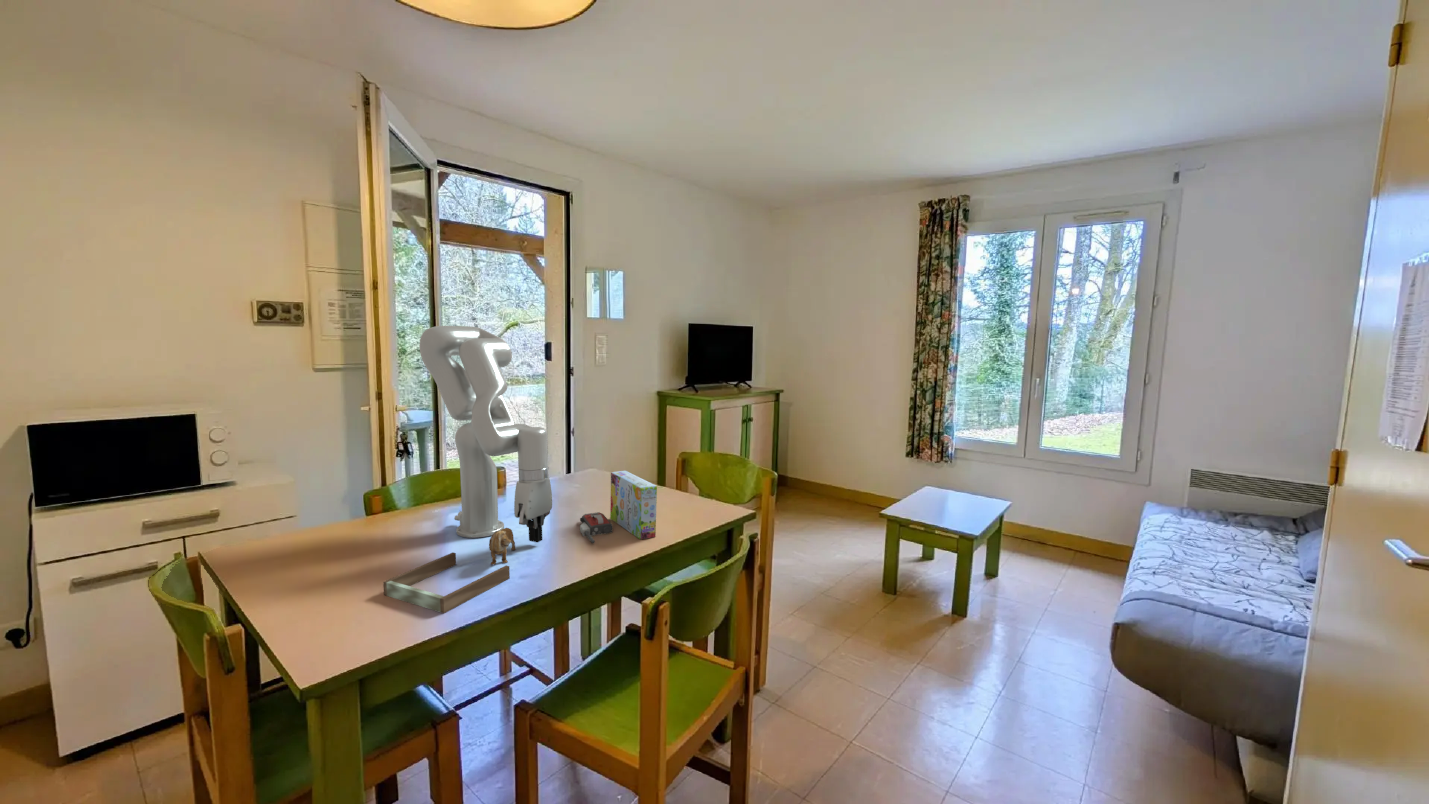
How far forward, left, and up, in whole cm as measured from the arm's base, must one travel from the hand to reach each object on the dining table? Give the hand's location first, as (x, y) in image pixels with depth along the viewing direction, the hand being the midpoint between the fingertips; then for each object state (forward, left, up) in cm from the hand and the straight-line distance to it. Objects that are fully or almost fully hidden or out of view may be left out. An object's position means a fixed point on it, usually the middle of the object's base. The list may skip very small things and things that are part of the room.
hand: (535, 540), depth 149 cm
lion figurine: (-1, -10, -2) cm, 10 cm away
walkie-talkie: (+8, +16, -2) cm, 18 cm away
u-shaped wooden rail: (0, -27, -1) cm, 28 cm away
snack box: (+16, +24, -2) cm, 28 cm away
